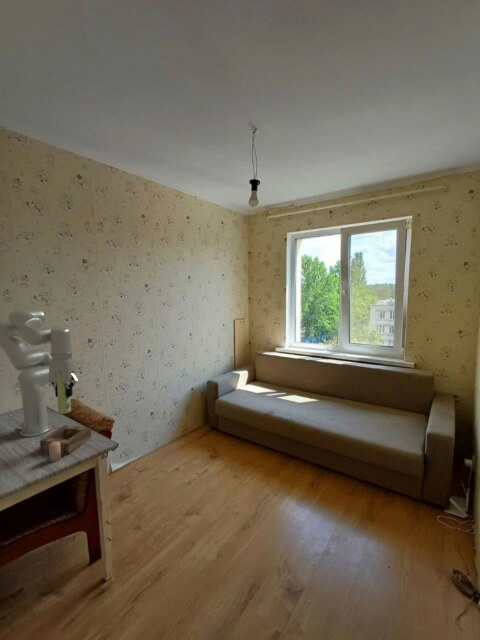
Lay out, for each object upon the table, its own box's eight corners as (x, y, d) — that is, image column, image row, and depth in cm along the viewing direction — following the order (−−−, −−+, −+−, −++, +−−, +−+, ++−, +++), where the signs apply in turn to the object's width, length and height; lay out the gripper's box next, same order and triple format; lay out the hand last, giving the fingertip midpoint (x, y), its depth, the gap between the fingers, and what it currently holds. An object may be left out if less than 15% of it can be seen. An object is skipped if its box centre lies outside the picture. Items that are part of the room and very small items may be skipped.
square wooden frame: (40, 451, 125) (40, 440, 124) (65, 435, 139) (64, 425, 138) (69, 454, 123) (68, 443, 122) (91, 437, 136) (90, 427, 136)
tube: (55, 411, 129) (53, 369, 126) (68, 408, 133) (66, 366, 130) (60, 415, 125) (57, 371, 123) (73, 411, 129) (70, 369, 127)
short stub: (47, 461, 118) (46, 445, 117) (55, 456, 121) (53, 440, 121) (56, 462, 117) (54, 446, 116) (63, 456, 121) (62, 441, 120)
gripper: (37, 357, 124) (40, 397, 126) (72, 359, 121) (74, 400, 123) (51, 353, 131) (54, 391, 133) (85, 355, 128) (86, 394, 130)
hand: (64, 395), depth 128 cm, fingers closed on tube, 4 cm apart
